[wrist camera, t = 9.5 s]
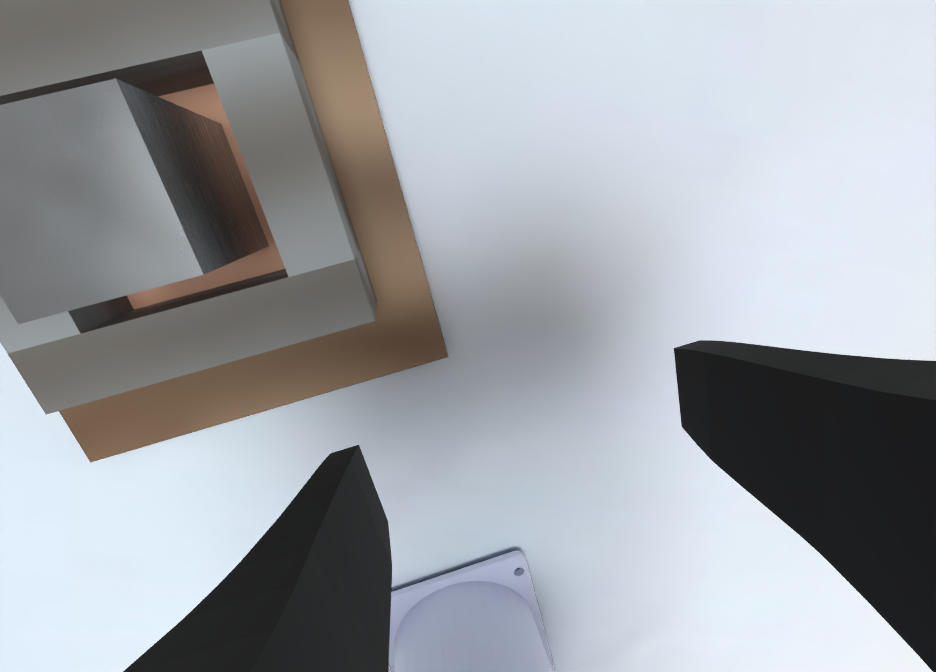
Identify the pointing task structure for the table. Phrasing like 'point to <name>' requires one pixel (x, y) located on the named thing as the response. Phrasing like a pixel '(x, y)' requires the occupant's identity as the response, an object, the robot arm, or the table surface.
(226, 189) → the steel block
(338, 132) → the well board
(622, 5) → the table surface
